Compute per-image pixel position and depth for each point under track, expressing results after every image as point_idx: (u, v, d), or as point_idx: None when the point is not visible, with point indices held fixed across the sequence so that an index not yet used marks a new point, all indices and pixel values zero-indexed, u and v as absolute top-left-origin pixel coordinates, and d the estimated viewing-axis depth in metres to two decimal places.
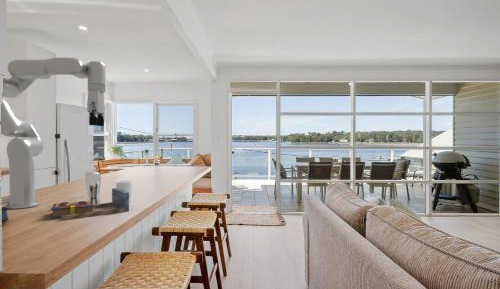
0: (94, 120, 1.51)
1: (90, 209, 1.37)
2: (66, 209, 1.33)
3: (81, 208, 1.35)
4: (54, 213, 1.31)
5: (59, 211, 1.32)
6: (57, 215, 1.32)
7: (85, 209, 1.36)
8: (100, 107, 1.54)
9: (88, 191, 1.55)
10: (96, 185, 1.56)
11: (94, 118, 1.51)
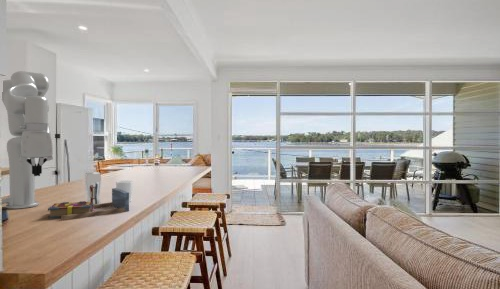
0: None
1: (87, 210, 1.35)
2: (63, 209, 1.33)
3: (78, 208, 1.34)
4: (52, 213, 1.31)
5: (56, 211, 1.32)
6: (54, 215, 1.32)
7: (82, 210, 1.35)
8: None
9: (88, 191, 1.55)
10: (96, 185, 1.56)
11: None
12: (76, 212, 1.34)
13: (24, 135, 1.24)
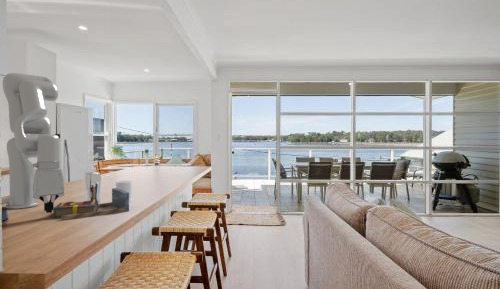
0: None
1: (92, 209, 1.37)
2: (69, 209, 1.34)
3: (83, 208, 1.36)
4: (57, 212, 1.33)
5: (62, 210, 1.33)
6: (60, 214, 1.33)
7: (87, 209, 1.36)
8: None
9: (88, 191, 1.55)
10: (96, 185, 1.56)
11: None
12: (81, 211, 1.35)
13: (37, 174, 1.27)
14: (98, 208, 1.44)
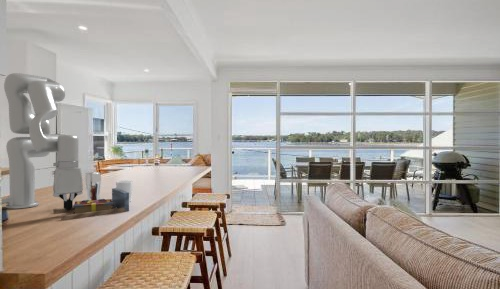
0: None
1: (110, 206, 1.42)
2: (87, 206, 1.38)
3: (102, 205, 1.40)
4: (76, 210, 1.36)
5: (81, 208, 1.37)
6: (79, 212, 1.37)
7: (105, 206, 1.41)
8: None
9: (88, 191, 1.55)
10: (96, 185, 1.56)
11: None
12: (99, 209, 1.40)
13: (57, 173, 1.32)
14: None
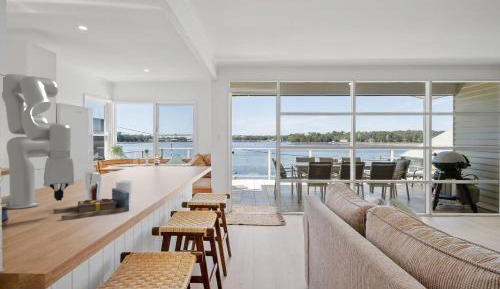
0: None
1: (114, 206, 1.43)
2: (92, 206, 1.39)
3: (106, 205, 1.41)
4: (80, 210, 1.37)
5: (85, 208, 1.38)
6: (83, 212, 1.38)
7: (109, 206, 1.42)
8: None
9: (88, 191, 1.55)
10: (96, 185, 1.56)
11: None
12: (103, 208, 1.41)
13: (48, 162, 1.30)
14: None
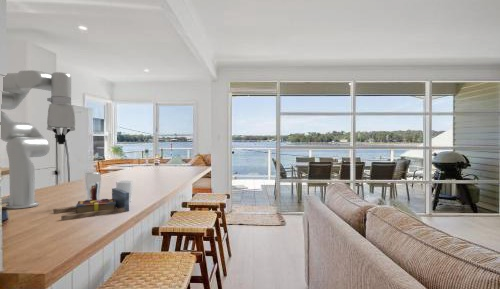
0: None
1: (113, 206, 1.42)
2: (90, 206, 1.39)
3: (104, 205, 1.41)
4: (79, 210, 1.37)
5: (84, 208, 1.38)
6: (82, 212, 1.38)
7: (108, 206, 1.41)
8: None
9: (88, 191, 1.55)
10: (96, 185, 1.56)
11: None
12: (102, 209, 1.41)
13: (51, 107, 1.40)
14: None
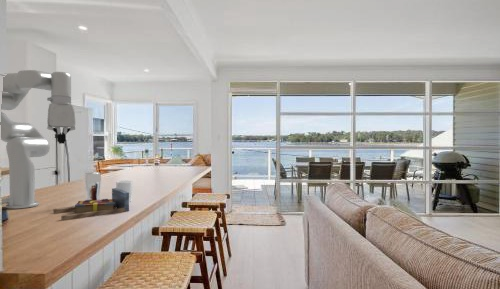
0: None
1: (112, 207, 1.42)
2: (89, 206, 1.39)
3: (103, 205, 1.40)
4: (78, 210, 1.37)
5: (83, 208, 1.38)
6: (81, 212, 1.38)
7: (107, 206, 1.41)
8: None
9: (88, 191, 1.55)
10: (96, 185, 1.56)
11: None
12: (101, 209, 1.40)
13: (51, 106, 1.40)
14: None
